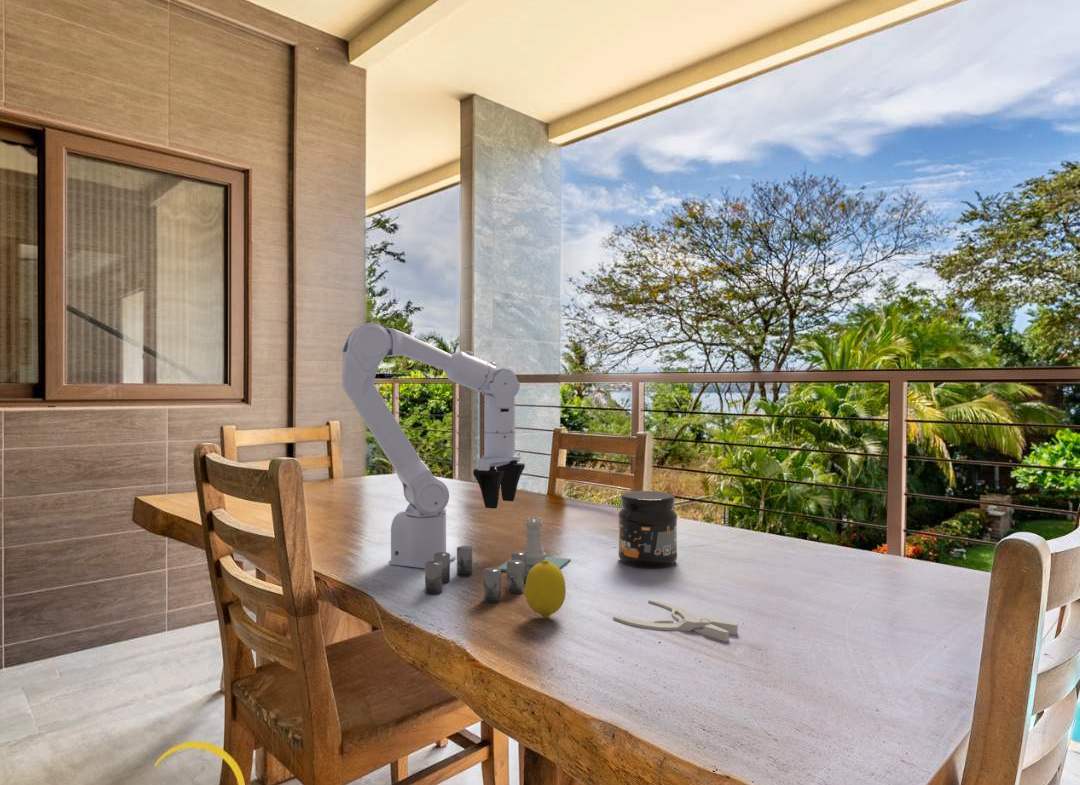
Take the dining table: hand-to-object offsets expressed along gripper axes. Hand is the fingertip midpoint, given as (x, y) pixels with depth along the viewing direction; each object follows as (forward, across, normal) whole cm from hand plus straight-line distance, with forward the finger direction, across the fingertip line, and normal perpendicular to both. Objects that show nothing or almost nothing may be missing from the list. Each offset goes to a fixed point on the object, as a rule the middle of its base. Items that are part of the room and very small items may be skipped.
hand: (500, 504), depth 121 cm
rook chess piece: (+9, -5, -9) cm, 14 cm away
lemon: (+10, -28, -20) cm, 36 cm away
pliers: (+10, -23, -37) cm, 45 cm away
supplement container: (+10, +5, -27) cm, 29 cm away
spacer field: (+9, -19, -5) cm, 22 cm away
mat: (+9, -5, -9) cm, 14 cm away
